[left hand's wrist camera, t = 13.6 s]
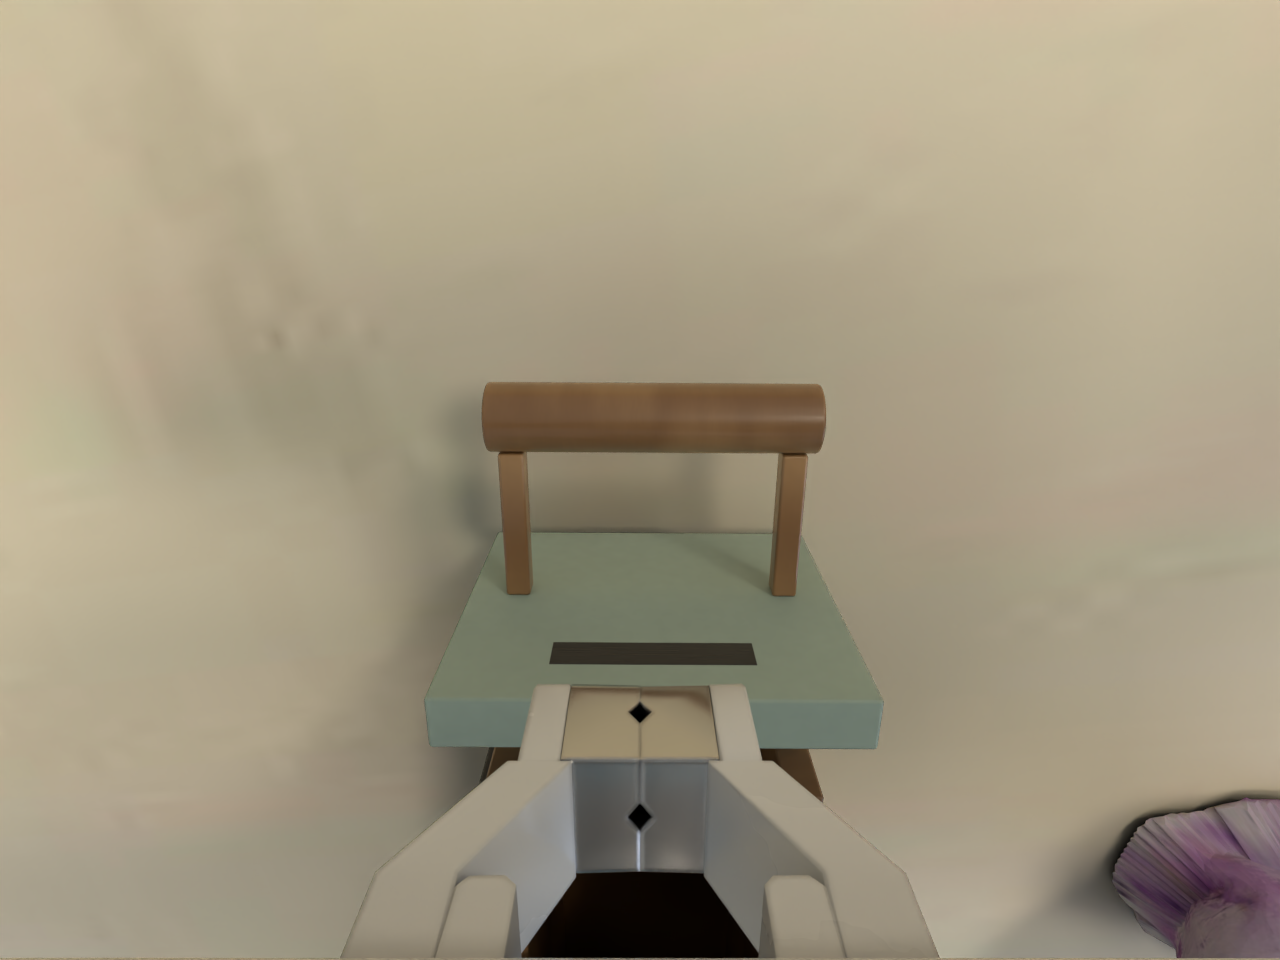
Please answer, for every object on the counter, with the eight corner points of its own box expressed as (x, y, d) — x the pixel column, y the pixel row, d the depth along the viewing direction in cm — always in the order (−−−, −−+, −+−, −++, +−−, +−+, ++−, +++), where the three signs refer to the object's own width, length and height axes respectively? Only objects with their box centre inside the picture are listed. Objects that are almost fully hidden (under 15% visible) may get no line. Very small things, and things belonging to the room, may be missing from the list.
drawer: (485, 354, 20) (392, 439, 12) (817, 355, 20) (923, 442, 12) (527, 967, 28) (485, 1242, 21) (762, 968, 28) (806, 1243, 21)
